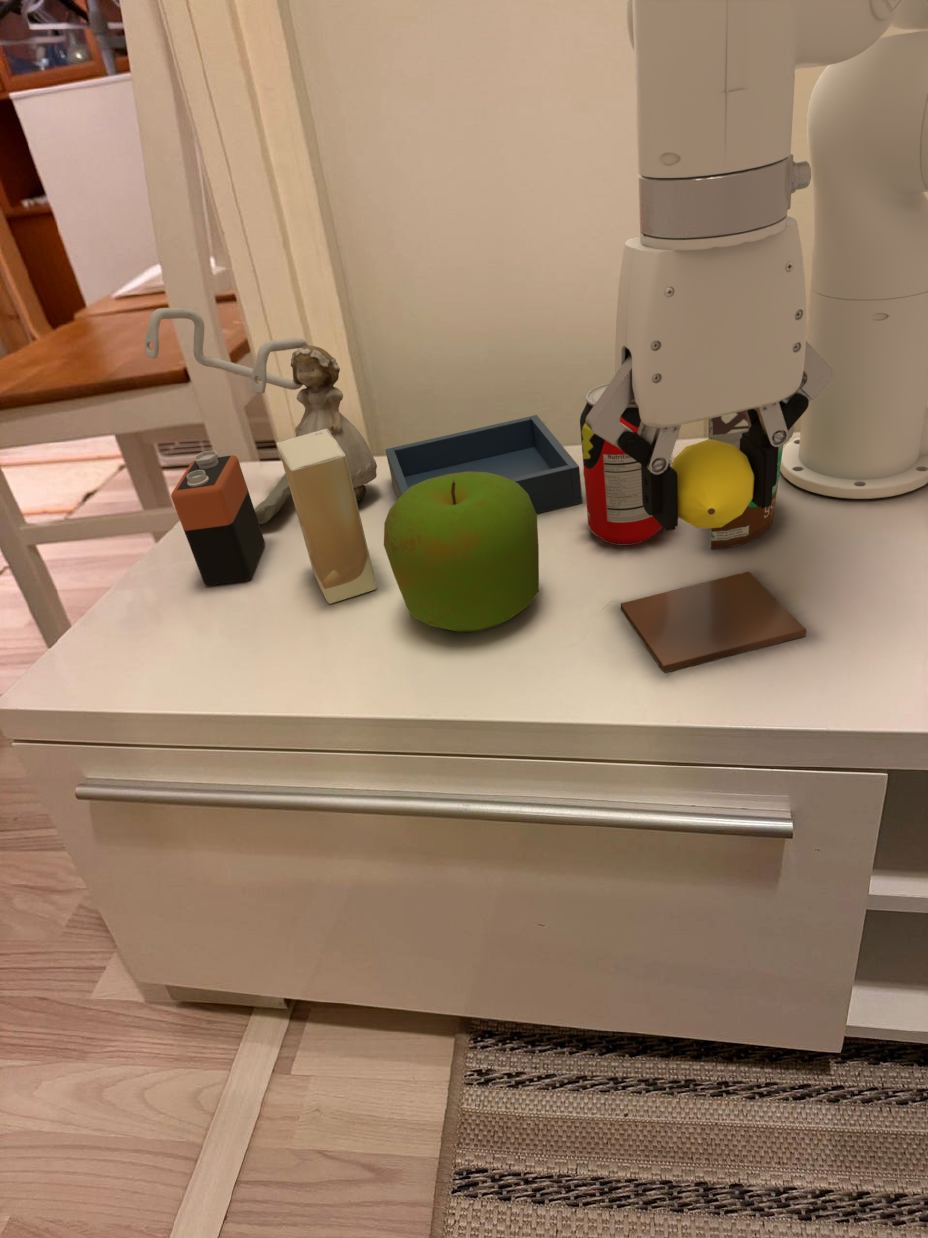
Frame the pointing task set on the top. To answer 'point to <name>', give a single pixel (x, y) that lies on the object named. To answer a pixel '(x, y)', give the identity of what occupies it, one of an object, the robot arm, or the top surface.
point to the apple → (464, 550)
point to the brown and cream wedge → (753, 517)
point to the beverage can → (613, 483)
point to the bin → (495, 461)
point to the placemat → (710, 621)
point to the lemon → (712, 483)
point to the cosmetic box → (328, 514)
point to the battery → (218, 518)
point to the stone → (273, 501)
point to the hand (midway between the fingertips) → (708, 507)
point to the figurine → (330, 412)
